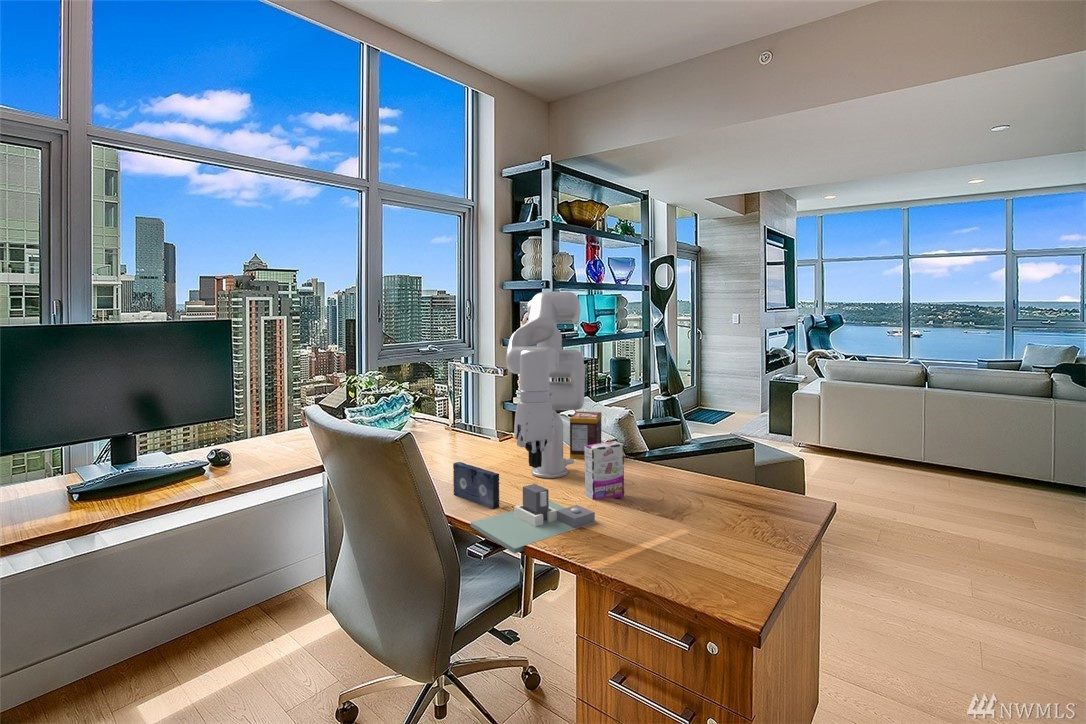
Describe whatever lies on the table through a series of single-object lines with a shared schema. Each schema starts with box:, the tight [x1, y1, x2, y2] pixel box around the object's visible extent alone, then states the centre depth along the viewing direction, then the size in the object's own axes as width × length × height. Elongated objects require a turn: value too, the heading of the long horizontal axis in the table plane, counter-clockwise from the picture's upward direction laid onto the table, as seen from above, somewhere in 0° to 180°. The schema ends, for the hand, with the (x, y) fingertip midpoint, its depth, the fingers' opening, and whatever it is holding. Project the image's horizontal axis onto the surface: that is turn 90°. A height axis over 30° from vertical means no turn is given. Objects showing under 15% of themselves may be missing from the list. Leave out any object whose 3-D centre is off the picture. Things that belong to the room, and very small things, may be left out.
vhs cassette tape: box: [452, 461, 500, 510], centre depth 159 cm, size 18×3×10 cm, turn 45°
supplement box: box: [569, 410, 603, 460], centre depth 210 cm, size 10×15×16 cm
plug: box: [522, 483, 550, 521], centre depth 142 cm, size 4×7×8 cm, turn 37°
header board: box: [470, 500, 598, 554], centre depth 140 cm, size 26×20×4 cm
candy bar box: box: [584, 440, 625, 501], centre depth 160 cm, size 11×5×16 cm, turn 117°
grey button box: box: [557, 504, 596, 528], centre depth 140 cm, size 7×7×3 cm
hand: (535, 466), depth 141 cm, fingers closed
